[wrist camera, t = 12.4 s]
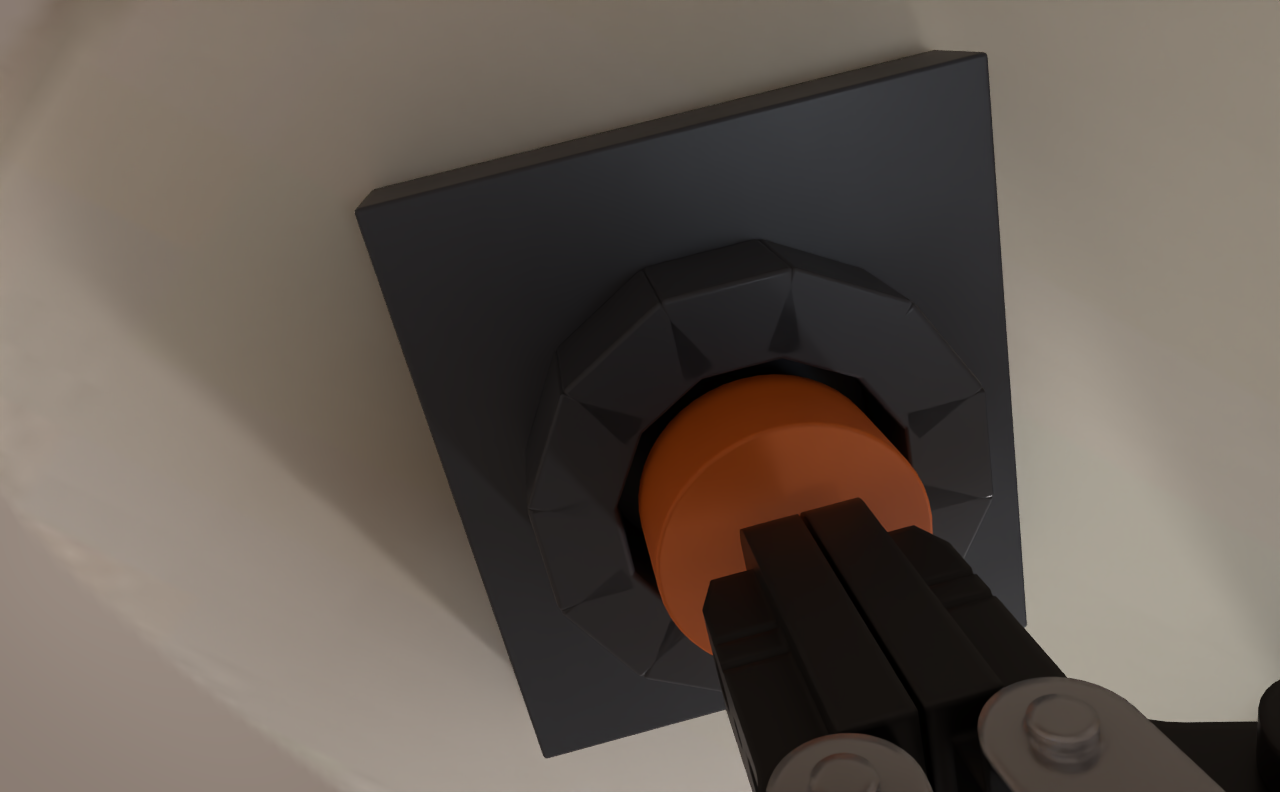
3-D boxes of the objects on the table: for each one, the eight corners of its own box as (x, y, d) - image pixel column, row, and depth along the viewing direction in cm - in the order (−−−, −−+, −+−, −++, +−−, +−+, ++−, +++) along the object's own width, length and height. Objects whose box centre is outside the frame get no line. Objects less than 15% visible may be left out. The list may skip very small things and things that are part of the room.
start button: (611, 410, 12) (627, 467, 11) (867, 344, 13) (919, 390, 11) (666, 624, 14) (687, 702, 12) (896, 561, 14) (947, 631, 12)
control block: (369, 189, 14) (327, 237, 11) (936, 49, 14) (1061, 54, 11) (541, 696, 18) (548, 844, 15) (983, 577, 18) (1085, 694, 15)
